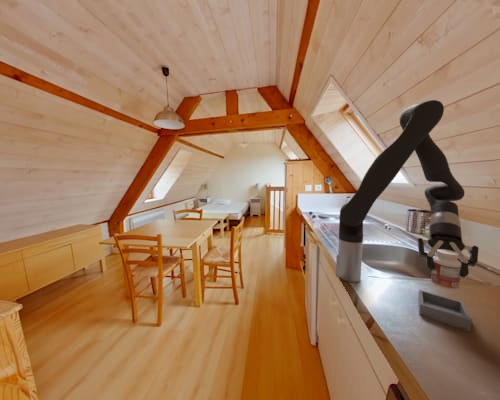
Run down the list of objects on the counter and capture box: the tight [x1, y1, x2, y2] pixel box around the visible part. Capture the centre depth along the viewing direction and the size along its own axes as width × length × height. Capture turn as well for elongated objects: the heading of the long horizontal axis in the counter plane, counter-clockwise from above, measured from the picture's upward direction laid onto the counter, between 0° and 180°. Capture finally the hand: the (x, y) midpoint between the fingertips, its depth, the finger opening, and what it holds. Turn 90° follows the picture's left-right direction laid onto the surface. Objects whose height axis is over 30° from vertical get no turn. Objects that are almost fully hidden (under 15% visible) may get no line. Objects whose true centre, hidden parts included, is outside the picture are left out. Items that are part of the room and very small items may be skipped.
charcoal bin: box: [417, 289, 472, 333], centre depth 59 cm, size 11×11×4 cm
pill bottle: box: [430, 249, 461, 291], centre depth 58 cm, size 6×6×11 cm
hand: (446, 272), depth 57 cm, fingers closed on pill bottle, 6 cm apart
